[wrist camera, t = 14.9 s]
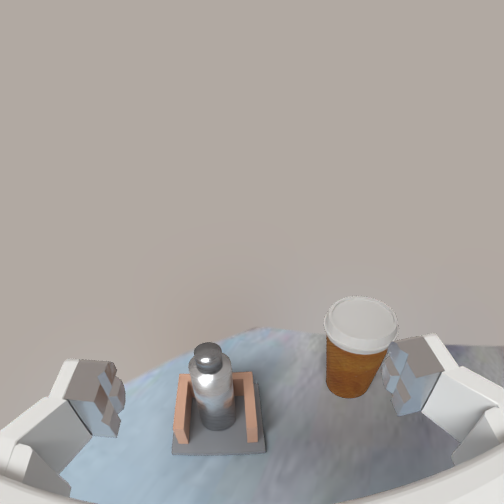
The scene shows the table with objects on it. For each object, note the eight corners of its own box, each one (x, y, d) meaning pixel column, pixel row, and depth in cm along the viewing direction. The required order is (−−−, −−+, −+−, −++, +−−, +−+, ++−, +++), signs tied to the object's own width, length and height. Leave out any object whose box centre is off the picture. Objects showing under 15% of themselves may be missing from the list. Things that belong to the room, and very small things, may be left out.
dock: (258, 385, 42) (257, 366, 41) (265, 452, 33) (265, 436, 31) (179, 388, 42) (174, 369, 40) (172, 454, 32) (164, 438, 30)
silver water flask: (235, 403, 39) (229, 336, 34) (236, 430, 35) (230, 366, 30) (201, 404, 39) (187, 337, 34) (199, 431, 35) (183, 367, 30)
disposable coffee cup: (313, 406, 39) (324, 340, 33) (316, 357, 47) (324, 292, 42) (382, 408, 37) (408, 343, 32) (376, 359, 45) (394, 295, 40)
